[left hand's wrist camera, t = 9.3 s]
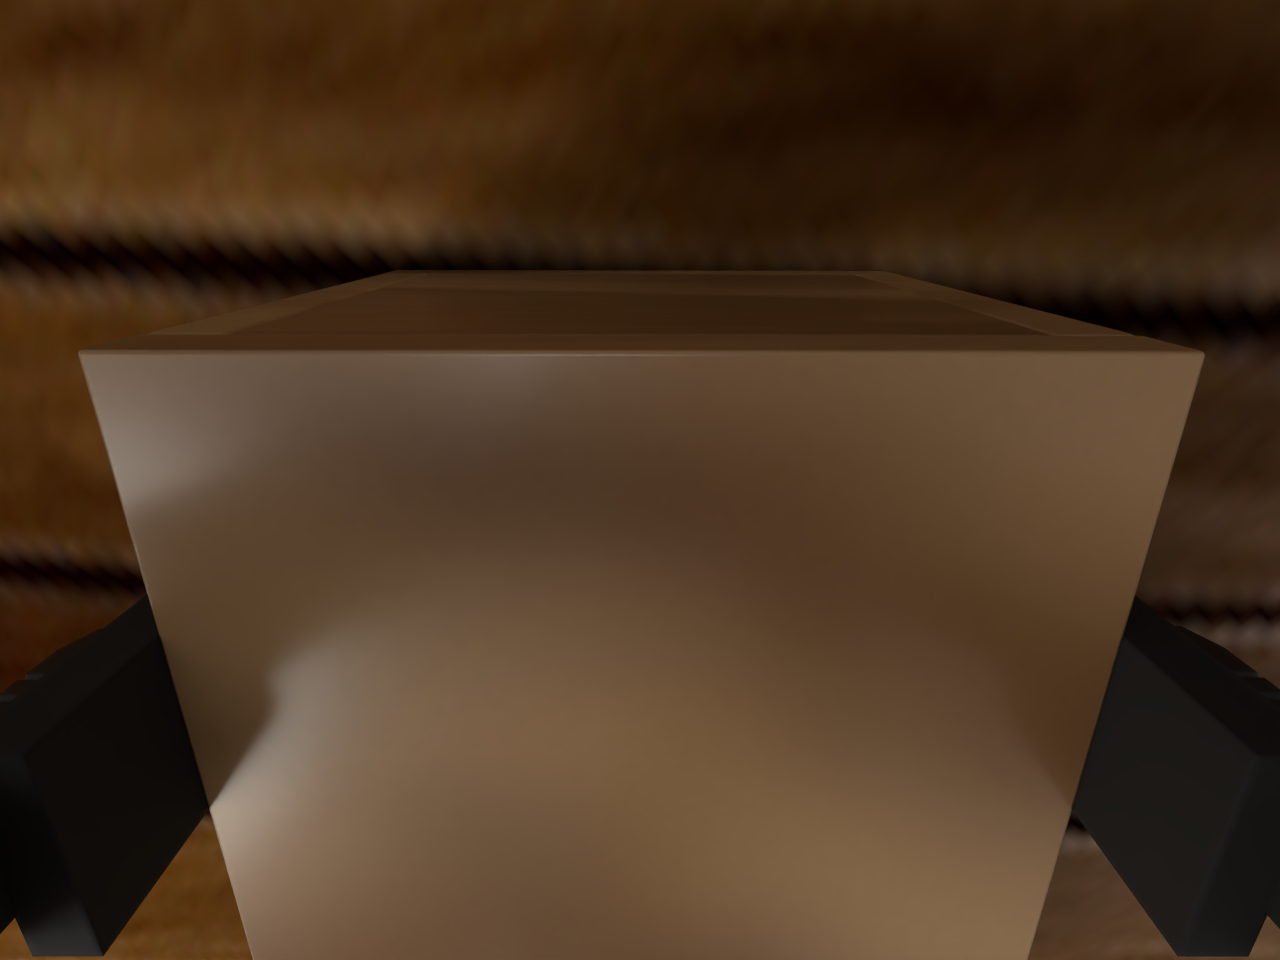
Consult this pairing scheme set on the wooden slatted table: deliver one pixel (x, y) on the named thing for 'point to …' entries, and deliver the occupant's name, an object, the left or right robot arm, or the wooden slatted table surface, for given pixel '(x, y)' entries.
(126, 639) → the left robot arm
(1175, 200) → the wooden slatted table surface
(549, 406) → the cabinet
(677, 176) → the wooden slatted table surface
